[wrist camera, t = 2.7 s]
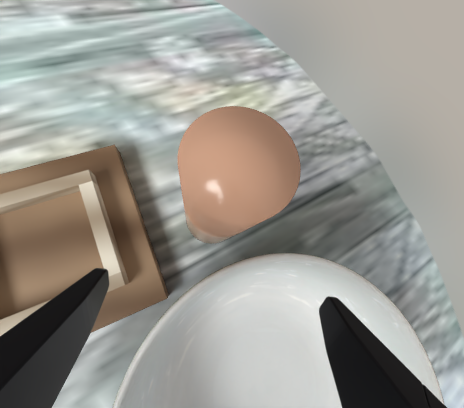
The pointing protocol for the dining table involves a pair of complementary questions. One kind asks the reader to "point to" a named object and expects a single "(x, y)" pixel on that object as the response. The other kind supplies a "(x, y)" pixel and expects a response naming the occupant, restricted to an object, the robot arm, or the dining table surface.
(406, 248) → the dining table surface
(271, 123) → the peach rounded block
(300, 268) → the serving bowl
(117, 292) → the display stand
